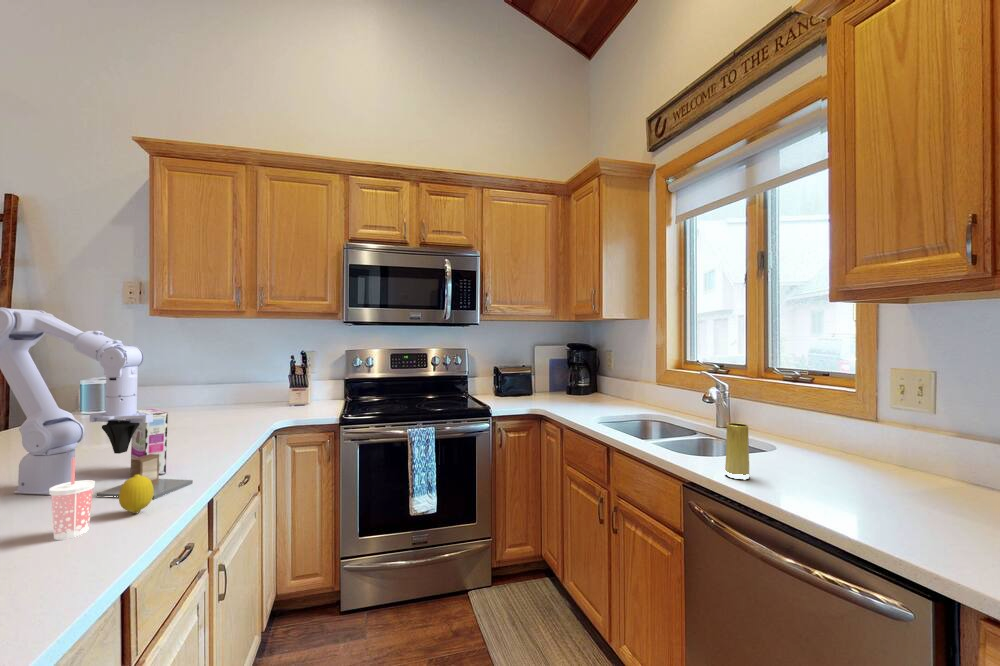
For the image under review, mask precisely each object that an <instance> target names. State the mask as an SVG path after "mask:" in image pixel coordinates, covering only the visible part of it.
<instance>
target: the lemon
mask: <svg viewBox="0 0 1000 666" xmlns="http://www.w3.org/2000/svg"><path fill="white" fill-rule="evenodd" d="M122 484H123V485H122ZM122 484H121V485H122V487H121V489H120V493H119V498H118V501H119V505H120V506H121V508H122V509H123V510H124V511H127V512H131V513H133V514H134V513H136V514H138V513H139V512H140V511H142V510H143V509H146V508H147V507H148V506H149V505H150V503H151V501H153V499H152V498H153V494H154V489H153V485H152V482H151V480H150V479H149V478H147V477H145V476H140V475H139V474H137V475H135V476H134V477H132V478H131V477H130V478H128V479H127V480H126V481H124V482H123V483H122ZM137 512H138V513H137Z"/></svg>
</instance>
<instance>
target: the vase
mask: <svg viewBox="0 0 1000 666" xmlns="http://www.w3.org/2000/svg"><path fill="white" fill-rule="evenodd" d="M725 441H726V445H725V446H726V447H725V450H726V451H725V464H724V465H725V470H726V471H727V472H729V473H732V474H743V475H746V474H749V475H750V445H749V442H750V440H749V425H748V424H745V423H742V422H741V423H740V422H727V423H726V440H725ZM725 470H724V471H725Z"/></svg>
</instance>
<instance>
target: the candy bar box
mask: <svg viewBox="0 0 1000 666" xmlns="http://www.w3.org/2000/svg"><path fill="white" fill-rule="evenodd" d="M137 412H138V413H146V414H153V422H150V423H140V425H139V426H138V428H137V429H136V431H135V432H134V434H133V436H132V438H131V442H130V443H131V444H130V446H131V448H130V450H131V451H130V461H131V460H132V459H135V458H138V457H142V456H145V455H148V454H159V476H162V475H166V474H167V450H168V449H167V447H168V445H167V444H168V443H167V442H168V421H169V420H168V418H169V417H168V416H169V413H168V412H166V411H162V410H158V409H154V408H149V409H148V408H147V409H146V408H145V409H137Z"/></svg>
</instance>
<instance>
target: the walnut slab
mask: <svg viewBox="0 0 1000 666" xmlns="http://www.w3.org/2000/svg"><path fill="white" fill-rule="evenodd" d="M137 474H139V475H140V476H145V477H147V478H149V479H150V480H151V482H152V485H155V484H158V482H159V479H160V477H159V476H160V475H159V454H148V455H145V456H142V457H138V458H135V459H132V460H131V459H130V478H132V477H134V476H135V475H137Z"/></svg>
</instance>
